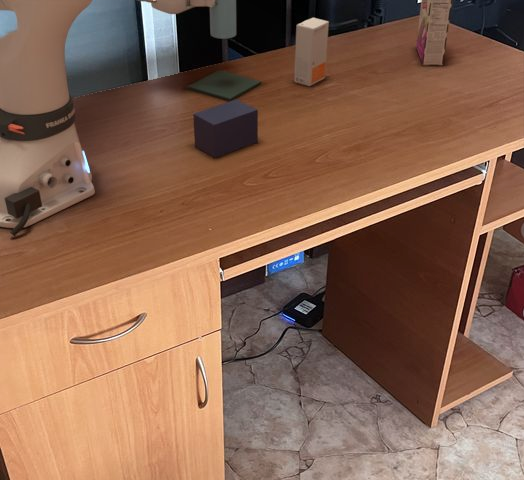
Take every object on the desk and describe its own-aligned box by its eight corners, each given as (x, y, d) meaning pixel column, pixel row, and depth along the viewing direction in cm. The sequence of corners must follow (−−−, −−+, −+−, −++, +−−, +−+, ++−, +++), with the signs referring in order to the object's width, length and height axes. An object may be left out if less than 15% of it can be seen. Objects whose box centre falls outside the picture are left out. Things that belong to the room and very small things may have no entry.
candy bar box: (414, 48, 183) (423, -28, 172) (435, 48, 183) (446, -28, 172) (420, 66, 174) (431, -13, 164) (443, 66, 174) (455, -12, 164)
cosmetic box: (310, 87, 165) (312, 28, 157) (293, 82, 167) (295, 24, 159) (326, 78, 168) (329, 20, 161) (309, 73, 170) (312, 16, 163)
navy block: (194, 146, 143) (193, 113, 139) (237, 131, 148) (236, 99, 144) (214, 158, 140) (213, 124, 136) (257, 142, 145) (257, 109, 141)
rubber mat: (230, 101, 159) (230, 98, 159) (187, 88, 164) (187, 86, 163) (260, 84, 166) (261, 81, 166) (219, 72, 171) (219, 69, 170)
